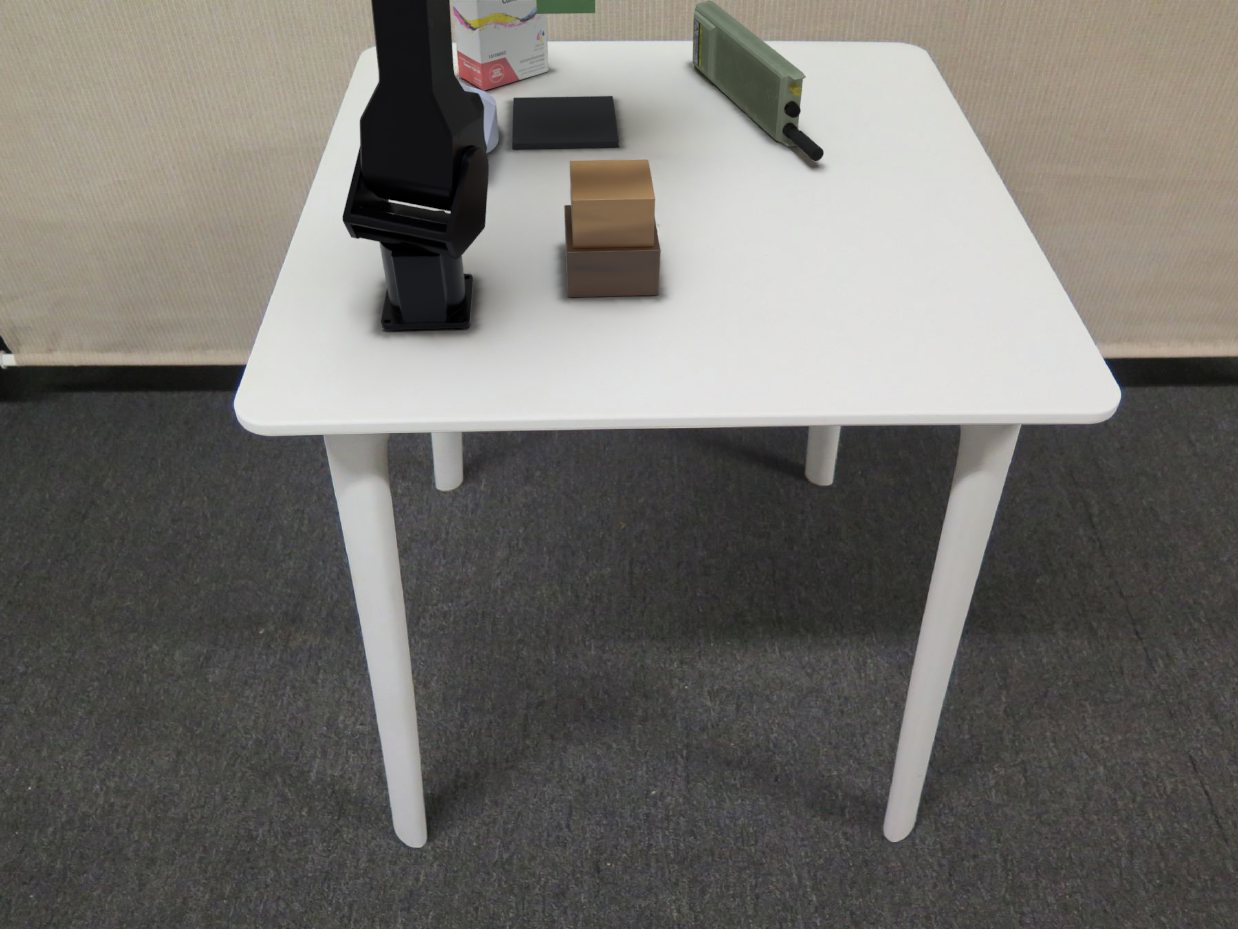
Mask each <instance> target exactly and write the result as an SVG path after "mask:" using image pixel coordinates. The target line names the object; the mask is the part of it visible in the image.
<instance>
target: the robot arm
mask: <svg viewBox="0 0 1238 929" xmlns="http://www.w3.org/2000/svg"><path fill="white" fill-rule="evenodd" d="M450 2H451V1H450V0H370V4H371V14H372V23H373V25H372V26H373V32H374V33H373V34H374V44H375V52H376V62H377V70H378V72H377V73H378V81H377V84H376V86H375V88H374V90H373V92H372V94H371V96H370V97H369V99H368V102H367V104H366V105H365V108H364V109H363V112H362V114H361V115H360V118H359V148H358V152H357V156H356V161H355V165H354V168H353V171H352V172H353V173H352V176H351V180H350V185H349V189H348V193H347V197H346V201H345V204H344V209H343V213H342V222H343V224H344V227H345V229H346V230H347V232H348V234H349V236H350V238H351V239H357V240H360V239H362V240H363V239H364V240H368V241H373V242H378V243H379V249H380V254H381V261H382V265H383V271H384V277H385V283H386V291H385V295H384V296H385V297H384V301H383V307H382V312H381V318H380V326H381V328H382V329H383V330H387V331H394V330H395V331H396V330H397V331H399V330H424V329H425V330H429V329H430V330H431V329H435V330H436V329H463V328H469V327H470V326H471V322H472V311H473V310H472V309H473V294H474V276H473V275H472V274H471V273H465V272H464V263H463V255H464V254H465V252H466V251H467V250H468V249H469V248H470V247H471V245H472V244H473V243H474V242H475V241H476V239H477V238H478V237H479V236H480V235H481V233H482V232H483V231H484V230H485V228H486V219H487V206H488V205H487V204H488V190H489V173H490V164H489V163H490V161H489V156H488V153H486V151H487V145H486V141H485V135H484V104H483V102H482V100H481V97H480V95H479V94H478V93H474V92H468V91H464V89H463V87H462V86H461V84H460V83H459V81H460V80H459V79H458V78H457V76H456V74H455V67H454V52H453V50H454V49H453V36H452V20H451V18H452V16H451V4H450ZM393 201H394V202H393ZM397 202H398V203H397ZM403 203H404V204H403ZM409 204H410V205H409ZM415 205H416V206H415ZM423 207H424V208H423ZM434 209H435V210H434Z"/></svg>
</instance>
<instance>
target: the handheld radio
mask: <svg viewBox="0 0 1238 929" xmlns="http://www.w3.org/2000/svg"><path fill="white" fill-rule="evenodd" d="M692 22H693V23H692V24H693V25H692V26H693V27H692V30H693V31H692V64H693V66H694V67H695V68H696V69H697V70H698V71H699V72H700V73H701V74H702V75H703V76H705V78H707V79H708V80H709V81H710V82H711V83H712V84H713V85H715V86H716V87H717V88H718V89H719V90H720V91H721V92H722V93H723V94H724V95H726V96H727V97H728V98H729V99H730V100H731V101H732V102H733V103H734V104H735V105H736V106H737V107H738V108H740V110H741V111H743V112H744V113H745V114H746V115H747V116H748V117H749V118H750V119H752V121H754V122H755V123H756V124H757V125H758V126H759V127H760V128H762V130H764V131H765V132H766V134H768V135H769V136H771V137H772V138H773V140H775V141H776V142H778V143H781V144H782V145H784V146H786V147H787V148H788V147H794V146H796V147H797V148H798V149H799V150H801V151H802V152H803V153H804V154H805V155H806V156H807V157H808V158H809V159H810V160H812V161H813V162H818V161H820V160H822V158H823V157H824V154H825V153H824V149H823V148H822V147H821V146H819V145H818V144H817V143H816V142H815V141H814V140H812V138H810V137H809V136H808V135H807V134H806V133H805V132H804V131H802V130H800V129H799V122H800V115H801V112H802V109H801V102H802V92H803V82H804V79H805V78H806V77H807V76H806V75H805V73H804V72H803V71H802V70H800V69H799V68H798V67H797V66H795V65H794V64H793V63H791V62H790V61H789V60H788V59H786V58H785V57H784V55H782V54H780V53H779V52H778V51H776V50H775V49H774V48H773V47H771V45H769V44H767V43H766V42H765V41H764V40H763V39H761V38H760V37H759V36H757V34H755V33H754V32H752V31H751V30H750V29H749V28H747V26H744V25H743V24H742V23H741V22H740V21H739V20H737V19H736V18H735V17H733V16H732V15H731V14H730V13H729V12H727V11H726V10H725V9H724V8H722V7H721V6H720V5H718V4H717V3H716V2H714V1H713V0H706V1H702V2H698V3H696V5H695V8H694V12H693V21H692Z"/></svg>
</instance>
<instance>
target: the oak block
mask: <svg viewBox="0 0 1238 929" xmlns="http://www.w3.org/2000/svg"><path fill="white" fill-rule="evenodd" d="M652 178H653V177H652V172H651V167H650V161H649V159H647V158H645V159H639V158H638V159H595V160H594V159H593V160H591V159H590V160H587V159H586V160H569V192H570V193H569V194H570V197H569V198H570V205H571V221H572V239H573V248H613V247H653V244H654V219H655V220H656V215H655V214H656V194H655V190H654V184H653V179H652Z"/></svg>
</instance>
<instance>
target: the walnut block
mask: <svg viewBox="0 0 1238 929" xmlns="http://www.w3.org/2000/svg"><path fill="white" fill-rule="evenodd" d="M563 206H564V207H563V211H564V212H563V214H564V243H565V244H564V246H565V263H566V264H565V268H566V269H565V271H566V289H567V297H568V298H592V297H598V298H599V297H632V296H633V297H635V296H658V295H659V293H660V292H659V291H660V273H661V271H660V270H661V246H660V239H659V234H658V228H657V223H656V222H657V221H656V218H655V219H654V244H653V247H613V248H573V239H572V221H571V204H565V205H563Z"/></svg>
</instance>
